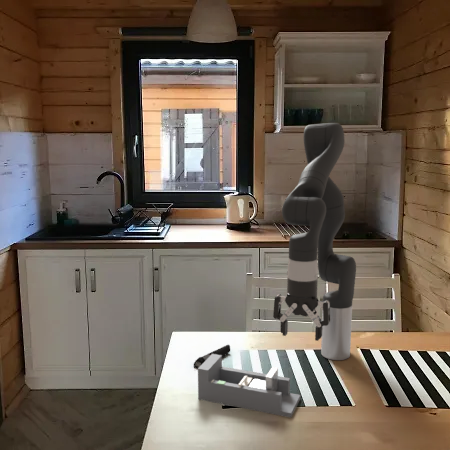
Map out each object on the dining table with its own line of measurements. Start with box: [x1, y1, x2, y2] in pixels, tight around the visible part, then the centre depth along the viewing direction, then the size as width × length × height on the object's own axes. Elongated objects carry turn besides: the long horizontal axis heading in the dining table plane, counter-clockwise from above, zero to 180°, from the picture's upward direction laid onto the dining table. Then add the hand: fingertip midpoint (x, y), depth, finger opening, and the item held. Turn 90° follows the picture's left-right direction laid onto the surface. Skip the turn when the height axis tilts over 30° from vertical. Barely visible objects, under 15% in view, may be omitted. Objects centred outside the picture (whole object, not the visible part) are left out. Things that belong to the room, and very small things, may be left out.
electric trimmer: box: [193, 344, 231, 370], centre depth 171 cm, size 4×16×3 cm, turn 140°
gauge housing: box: [197, 354, 301, 418], centre depth 146 cm, size 10×26×9 cm, turn 69°
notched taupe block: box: [249, 366, 279, 391], centre depth 144 cm, size 6×7×8 cm
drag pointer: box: [238, 376, 253, 386], centre depth 145 cm, size 8×2×5 cm, turn 159°
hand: (300, 337), depth 137 cm, fingers open, 8 cm apart
